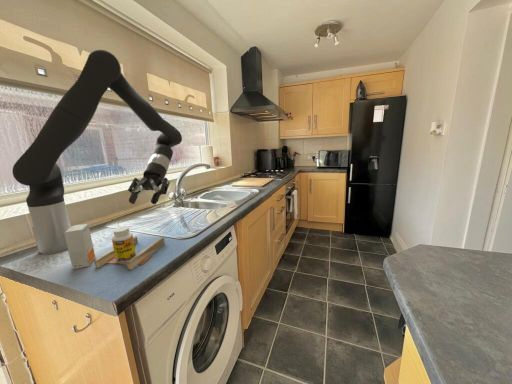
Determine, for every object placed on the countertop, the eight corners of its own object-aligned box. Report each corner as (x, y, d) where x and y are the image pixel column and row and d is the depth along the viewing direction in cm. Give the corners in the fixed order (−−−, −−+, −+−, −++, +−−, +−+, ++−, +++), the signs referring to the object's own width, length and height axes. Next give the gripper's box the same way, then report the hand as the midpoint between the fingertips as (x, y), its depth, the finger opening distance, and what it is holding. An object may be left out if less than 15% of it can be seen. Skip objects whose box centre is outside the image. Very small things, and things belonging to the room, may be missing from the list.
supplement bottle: (115, 265, 63) (109, 234, 61) (116, 257, 68) (110, 228, 65) (136, 259, 66) (131, 229, 64) (135, 252, 71) (130, 224, 68)
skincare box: (89, 266, 64) (81, 229, 61) (72, 269, 62) (63, 232, 59) (96, 257, 69) (88, 223, 67) (80, 260, 68) (72, 225, 65)
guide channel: (91, 267, 63) (89, 260, 62) (131, 242, 79) (130, 236, 79) (135, 270, 61) (134, 262, 60) (168, 243, 77) (167, 237, 77)
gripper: (135, 162, 81) (117, 197, 72) (169, 161, 78) (154, 197, 70) (146, 173, 87) (130, 207, 78) (178, 173, 85) (165, 208, 76)
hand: (142, 203), depth 74 cm, fingers open, 8 cm apart
